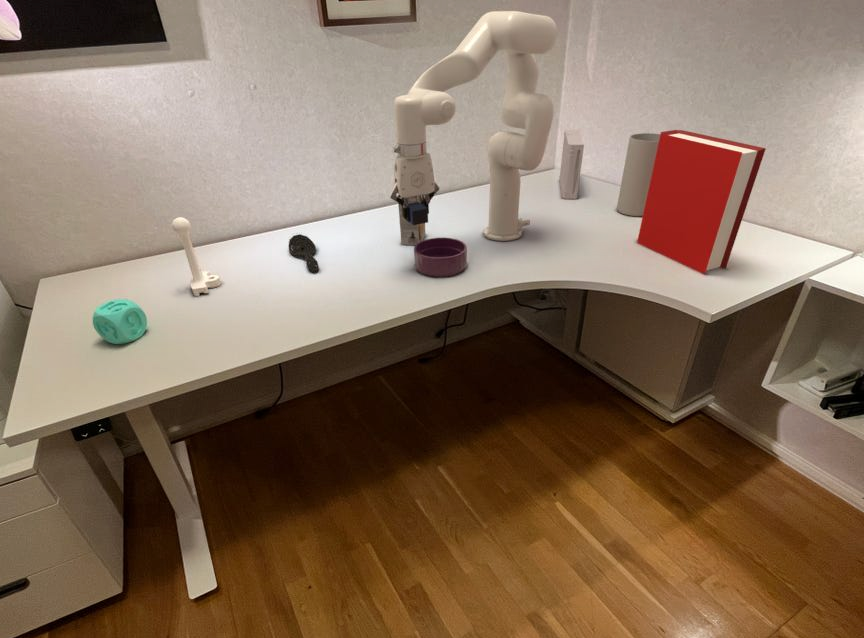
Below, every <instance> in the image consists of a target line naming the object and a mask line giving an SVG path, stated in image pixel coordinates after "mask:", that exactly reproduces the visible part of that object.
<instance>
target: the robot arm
mask: <svg viewBox="0 0 864 638" xmlns="http://www.w3.org/2000/svg"><path fill="white" fill-rule="evenodd" d="M557 39H558V27H557V24H556V22H555V21H554V20H553V18H552V17H550V16H548V15H542V14H536V13H529V12H523V11H519V10H498V11H497V10H495V11H489V12H486V13H485V14H483V15H481V16H480V18H479V19H478V21H477V22H476V23H475V24H474V26H473V27H472V28H471V29H470V30H469V32H468V33H467V35H466V36H465V37H464V38H463V39H462V41H461V42H460V44H459V45H458V46H457V47H456V48H455V50H453V52H452V53H450V54H448V55H447V56H445V57H444V58H442V59H441V60H439V61H438V62H436V63H435V64H433V65H432V66H430V67H428V69H427V70H425V71H424V72H423V73H422V74H421V75H420V76H419V77H418V79H417V80H415V82H414V84H413V85H412V86H411V88H410V89H409V91H408V93H407V94H404V95H403V94H402V95H399V96H396V97H395V99H394V101H393V111H394V123H395V136H396V143H395V146H393V147H391V151H392V154H397V155H395V159H394V171H393V173H394V174H393V180H394V181H393V184H394V185H393V187H392V188H391V190H390V192H389V194H388V197H389V199H391V200H392V201H395V202H396V203H397V204H398V203H399V204H400V205H402V214H403V218H404V219H405V220H406V221H407V222H410V208H409V207H408V201H409V197H414V196H419V195H421V196H422V201H421V204H423V205H424V206H425V207H427V209H428V215H429V214H430V203H431V200H432V199H433V197H434V196H435V195H436V194H437V192H439V191H440V186H439V185H438V184H437V183H436V182H435V176H434V175H435V173H434V168H433V162H432V161H433V160H432V156H431V154H430V152H427V149H428V148H427V126H442V125H445V124H447V123H449V122H450V121H451V120H452V119H453V118H454V116H455V113H456V102H455V100H454V97H452V95H450V94H449V93H448V92H446V91H448V90H450V89H452V88H455V87H458V86H462V85H465V84H468V83H470V82H472V81H474V80H476V79H478V78H479V77H480V75H481V74H482V72H483V71H484V70H485V69H486V67H487V66H488V64H490V62H491V60H493V59H494V57H495V56H496V55H497V53H498V52H502V51H503V52H504V54H505V57H506V60H507V65H508V75H507V82H506V85H505V86H506V87H505V90H504V95H503V101H502V104H501V109H500V119H501V121H502V123H503V124H504V125H505V126H507V127H510V128H516V129H522V130H525V131H524V133H519V132H513V131H506V130H503V131H498V132H496V133H494V135H492V136H491V138H489V140H488V145H487V158H488V164H489V199H488V201H489V202H488V226H487V227H485V228H484V229H483V236H484V237H485V238H486V239H489V240H491V241H496V242H509V241H514V240H517V239H519V238H520V237H522V234H523V230H522V228H523V227H526V226H530V225H531V219H529V218H527V219H524V220H523V218H519V210H520V209H519V208H520V195H521V174H520V171H526V172H532V171H534V170H536V169H537V168H538V167H539V166H540V165H541V163H542V160H543V157H544V155H545V151H546V147H547V144H548V139H549V135H550V132H551V128H552V124H553V120H554V115H555V114H554V113H555V112H554V103H553V101H552V99H551V98H550V96H548V95H547V94H544V93H538V92H536V91H537V85H538V80H539V65H538V62H537V59H536V57H535V55H545V54H547V53H549V52H550V51H551V50H552V49H553V48H554V46H555V44H556V42H557ZM398 195H400V196H401V199H400V198H399V197H398Z"/></svg>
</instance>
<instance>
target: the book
mask: <svg viewBox="0 0 864 638" xmlns="http://www.w3.org/2000/svg"><path fill="white" fill-rule="evenodd" d="M659 134H660V138H659V143H658V148H657V152H656V157H655V162H654V166H653V171H652V175H651V180H650V185H649V189H648V194H647V199H646V203H645V208H644V212H643V216H641V217H642V218H641V222H640V227H639V232H638V235H637V241H636V243H637V244H639V245H641V246H644V247H645V248H647V249H650V250H652V251H654V252H656V253H657V254H659V255H662V256H664V257H666V258H668V259H670V260H673V261H674V262H677V263H679V264H681V265H683V266H685V267H688V268H690V269H691V270H693V271H696V272H698V273H700V274H702V275H706V271H711V270H715V269H717V268H722V269H725V270H726V269H727V266H728V263H729V260H730V258H731V254H732V251H733V248H734V245H735V242H736V239H737V236H738V233H739V230H740V227H741V224H742V222H743V221H742V220H743V218H744V216H745V212H746V209H747V206H748V203H749V200H750V197H751V194H752V192H753V188H754V186H755V181H756V180H757V177H758V173H759V171H760V168H761V164H762V161H763V158H764V155H765V152H766V149H767V148H766V147H762V146H757V145H752V144H749V143H743V142H739V141H734V140H730V139H725V138H721V137H715V136H711V135H706V134H702V133H698V132H692V131H689V130H688V131H687V130H685V129H684V130H683V129H673V130H666V131H661V132H660V133H659Z"/></svg>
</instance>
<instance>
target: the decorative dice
mask: <svg viewBox="0 0 864 638" xmlns="http://www.w3.org/2000/svg"><path fill="white" fill-rule="evenodd" d="M92 326H93V328H94V330H95V332H96V333H97V334H98V335H99V337H101V339H103V340H104V341H106V342H108V343H110V344H114V345H125V344H129V343H131V342H134V341H136V340H138V339H140V338H141V337H142V336H143V334H144V333H145V332H146V329H147V326H148V319H147V315H146V313H145V311H144V310H143V308H142V307H141V306H140V305H139V304H138V303H137V302H135V301H133V300H131V299H127V298H116V299H112V300H109V301H106V302H103V303H101V304H100V305H98V306H97V307H96V309H95V310H94V312H93V315H92Z"/></svg>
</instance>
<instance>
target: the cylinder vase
mask: <svg viewBox="0 0 864 638" xmlns="http://www.w3.org/2000/svg"><path fill="white" fill-rule="evenodd" d="M660 134H661V133H653V132H640V133H633V134H630V135H629V139H628V143H627V149H626V155H625V160H624V166H623V172H622V177H621V181H620V182H621V183H620V189H619V193H618V199H617V204H616V210H617V211H618V213H620V214H622V215H626V216H629V217H643V212H644V208H645V203H646V199H647V194H648V189H649V185H650V180H651V175H652V171H653V166H654V162H655V157H656V152H657V148H658V143H659V138H660Z"/></svg>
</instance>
